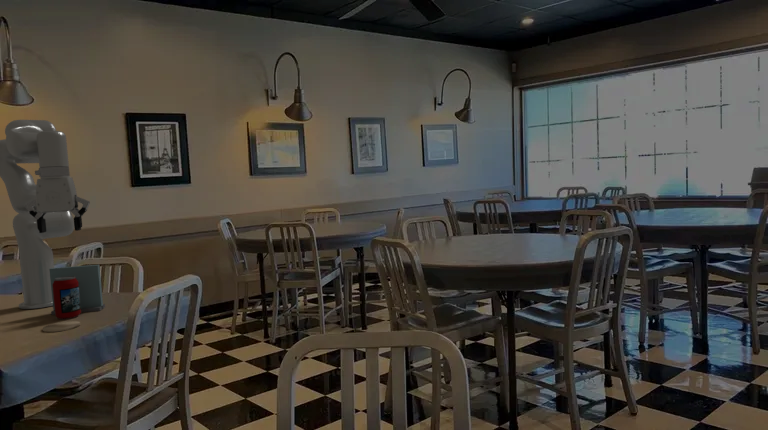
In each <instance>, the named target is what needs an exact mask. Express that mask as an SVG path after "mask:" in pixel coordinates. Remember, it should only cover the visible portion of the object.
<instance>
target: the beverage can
mask: <svg viewBox="0 0 768 430" xmlns="http://www.w3.org/2000/svg"><path fill="white" fill-rule="evenodd" d="M53 296H54V306H55V317H56V318H57V319H59V320H69V319H74V318H77V317H79V315H81V313H82V312H81V305H80V294H79V285H78V281H77V279H76V278H75V276H65V277H59V278H55V281H54V283H53Z"/></svg>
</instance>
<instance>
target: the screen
mask: <svg viewBox="0 0 768 430" xmlns="http://www.w3.org/2000/svg"><path fill="white" fill-rule="evenodd" d="M49 270H50V280H51V290H52V300H53V306H52V309H53V310H51V312H50V313H51V316H53V315H55V306H54V296H53V283H54V281H55V278H59V277H65V276H75V278H76V279H77V281H78V285H79V294H80V305H81V313H88V312H89V313H90V312H99V311H101V310H103V309H105V308H106V304H105V303H104V301H103V300H104V299H103V289H102V281H101V269H100V264H89V265H88V264H87V265H76V266H63V267H54V268H51V269H49ZM55 316H56V315H55Z"/></svg>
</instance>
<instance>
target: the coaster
mask: <svg viewBox="0 0 768 430" xmlns="http://www.w3.org/2000/svg"><path fill="white" fill-rule="evenodd" d="M80 326H81V321H79V320H70V321H68V320H67V321H62V322H55V323H52V324H48V325H45V326H43V327H42V332H44V333H57V332H64V331H70V330H73V329H76V328H79V327H80Z"/></svg>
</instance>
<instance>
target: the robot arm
mask: <svg viewBox="0 0 768 430" xmlns="http://www.w3.org/2000/svg"><path fill="white" fill-rule="evenodd" d="M4 134H5V139H0V178H1V180H2V182H3V183H4V185H5V189H6V192H7V196H8V198H9V201H10V204H11V206H12V209H13V211H15V212H16V213H18V214H16V215H15V216H14V217H13V219H12V228H13V229H12V230H13V231H14V232H13V233H14V236H15V239H16V243H17V249H18V255H19V264H20V265H19V266H20V274H21V284H22V293H23V302H21V303H19V304H18V309H20V310H32V309H33V310H34V309H42V308H47V307H53V300H52V290H51V280H50V270H49V269H51V268H55V261H54V253H53V249H52V248H51V247H50V246H49V245H48V244H47V243H45V242H44V240H45V239H54V238H62V237H67V236H69V235H71V234H72V233H73V232H74V231H76V232H77V231H81V230H82V228H83V220H82V219H83V218H82V217H83V216H84V215H85V213H86V212H87V211H88V209H89V206H90V204H91V202H90V200H87V199H85V198H82V197H80V196H78V194H77V188H76V185H75V181H74V179H73V177H71V174H70V164H69V155H68V143H67V136H66V134H65V133H64V131H60V130H57V129H56V127H55V124H54V123H53V122H51V121H49V120H44V119H16V120H12V121H10V122H9V123H7V125H6V126H5V128H4ZM18 164H38V165H39V168H38V170H35V171H34V174H35V176H39V178H37V179H36V183H35V179H34V176H33V175H32V174H31V173H30V172H28V171H27V170H26V169H25V168H23V167H22V166H20V165H18ZM79 203H80V204H82V205H81V208H80V209H79ZM73 215H74V216H73Z"/></svg>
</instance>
